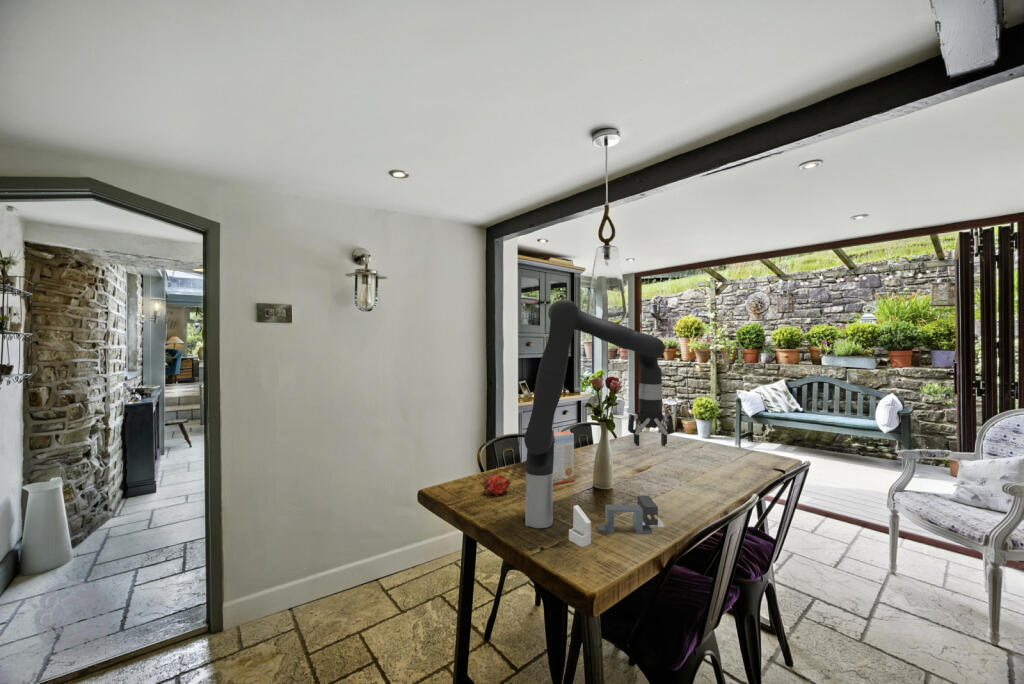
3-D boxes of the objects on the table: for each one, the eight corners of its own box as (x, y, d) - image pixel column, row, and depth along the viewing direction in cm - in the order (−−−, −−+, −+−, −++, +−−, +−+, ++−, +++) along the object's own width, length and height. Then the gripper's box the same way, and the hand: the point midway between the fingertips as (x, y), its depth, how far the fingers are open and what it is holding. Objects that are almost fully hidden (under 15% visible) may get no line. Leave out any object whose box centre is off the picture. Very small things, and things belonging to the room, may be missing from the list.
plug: (646, 527, 138) (647, 508, 138) (636, 510, 151) (636, 493, 151) (659, 527, 138) (659, 508, 138) (647, 510, 151) (647, 494, 151)
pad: (640, 527, 139) (640, 526, 139) (629, 509, 153) (629, 508, 153) (665, 527, 139) (665, 526, 139) (652, 510, 153) (652, 509, 153)
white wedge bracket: (568, 523, 136) (577, 504, 133) (587, 550, 129) (598, 531, 126) (559, 526, 134) (569, 507, 130) (578, 553, 127) (589, 534, 123)
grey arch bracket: (598, 533, 135) (598, 509, 135) (596, 527, 139) (596, 504, 139) (652, 533, 134) (652, 510, 134) (648, 528, 138) (648, 505, 138)
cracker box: (567, 477, 188) (567, 430, 188) (574, 481, 182) (574, 433, 182) (539, 482, 182) (539, 433, 182) (546, 486, 177) (546, 436, 176)
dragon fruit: (479, 499, 167) (507, 499, 172) (487, 492, 161) (516, 492, 166) (478, 477, 172) (505, 478, 177) (485, 470, 166) (513, 471, 170)
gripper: (668, 395, 145) (667, 443, 145) (626, 395, 145) (626, 442, 146) (676, 398, 138) (675, 448, 138) (631, 398, 138) (631, 448, 138)
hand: (650, 445), depth 142 cm, fingers open, 8 cm apart
